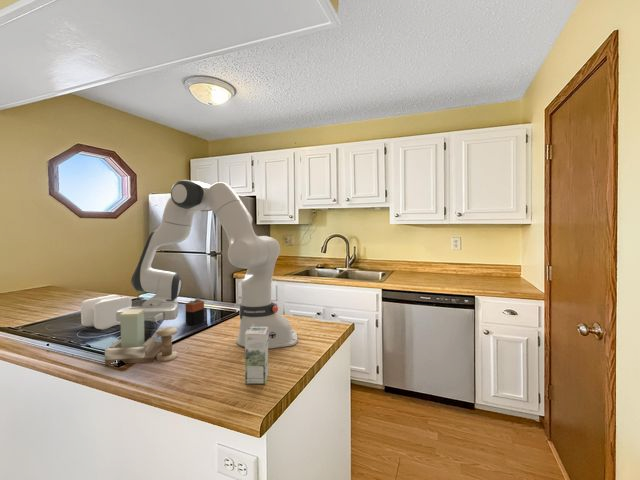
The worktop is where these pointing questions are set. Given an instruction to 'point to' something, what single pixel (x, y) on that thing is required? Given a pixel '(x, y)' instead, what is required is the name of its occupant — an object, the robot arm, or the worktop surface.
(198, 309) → the battery
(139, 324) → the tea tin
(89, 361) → the worktop surface
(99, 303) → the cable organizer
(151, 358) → the winding board
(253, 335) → the syrup box
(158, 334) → the bobbin
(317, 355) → the worktop surface
